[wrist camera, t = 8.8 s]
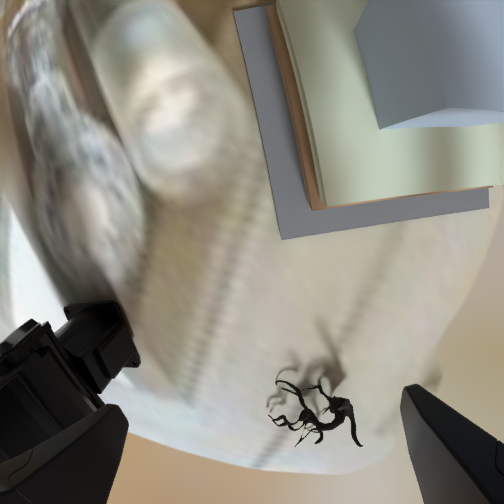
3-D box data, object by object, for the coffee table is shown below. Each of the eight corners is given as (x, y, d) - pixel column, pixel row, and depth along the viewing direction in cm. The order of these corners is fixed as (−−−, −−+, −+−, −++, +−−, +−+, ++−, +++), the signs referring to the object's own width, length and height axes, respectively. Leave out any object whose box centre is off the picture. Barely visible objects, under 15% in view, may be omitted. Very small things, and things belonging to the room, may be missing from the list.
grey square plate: (281, 237, 19) (281, 240, 19) (234, 15, 15) (233, 11, 15) (484, 206, 17) (489, 207, 16) (440, 9, 13) (443, 7, 12)
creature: (290, 426, 26) (367, 415, 22) (277, 469, 21) (364, 463, 18) (256, 376, 24) (344, 358, 21) (235, 422, 20) (338, 412, 16)
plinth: (307, 203, 18) (317, 219, 13) (269, 27, 15) (262, -16, 10) (468, 182, 16) (517, 192, 11) (431, 24, 13) (466, -6, 8)
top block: (379, 129, 11) (447, 107, 5) (353, 30, 10) (390, -42, 4) (467, 126, 10) (550, 119, 5) (441, 35, 9) (505, -10, 3)
